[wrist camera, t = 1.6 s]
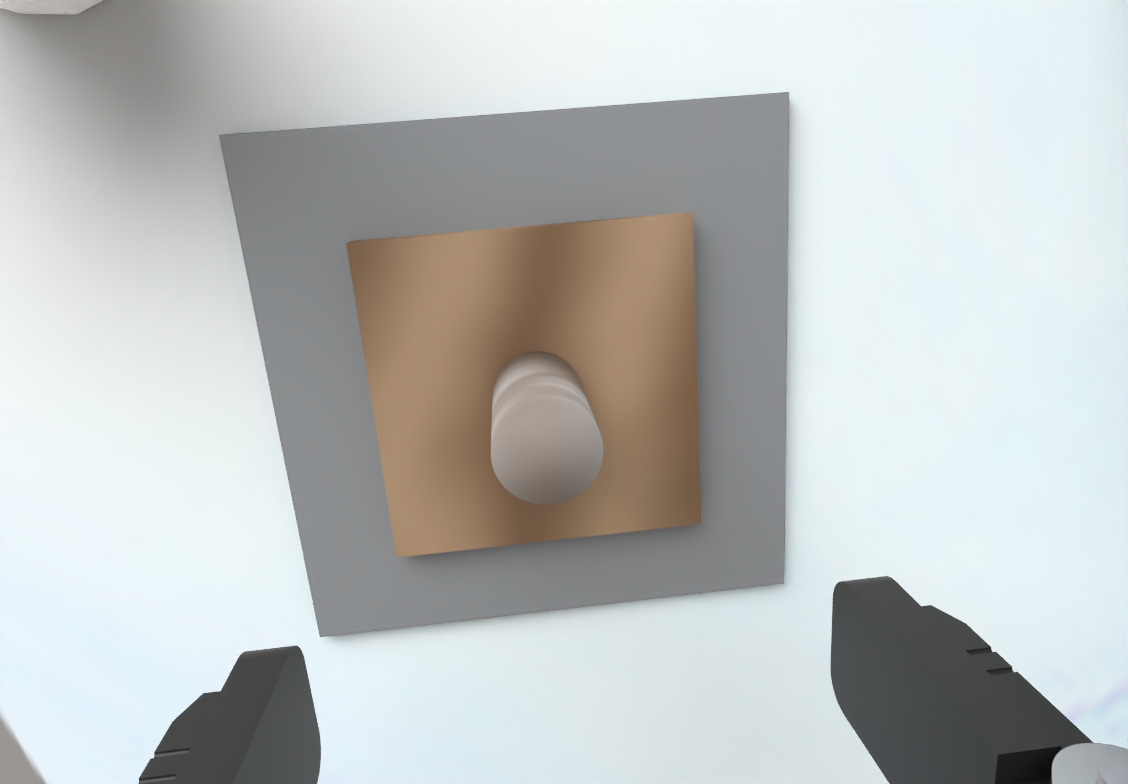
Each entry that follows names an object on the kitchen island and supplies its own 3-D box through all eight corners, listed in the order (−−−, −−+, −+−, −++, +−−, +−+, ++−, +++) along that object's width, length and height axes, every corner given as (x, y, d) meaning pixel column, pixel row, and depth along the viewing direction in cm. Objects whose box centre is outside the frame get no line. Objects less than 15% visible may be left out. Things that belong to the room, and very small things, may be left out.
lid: (685, 212, 24) (749, 224, 18) (694, 512, 28) (750, 609, 21) (352, 240, 24) (300, 263, 18) (399, 544, 27) (370, 654, 21)
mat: (783, 93, 24) (789, 91, 24) (779, 576, 29) (784, 583, 29) (224, 136, 23) (218, 135, 23) (323, 629, 28) (320, 637, 28)
